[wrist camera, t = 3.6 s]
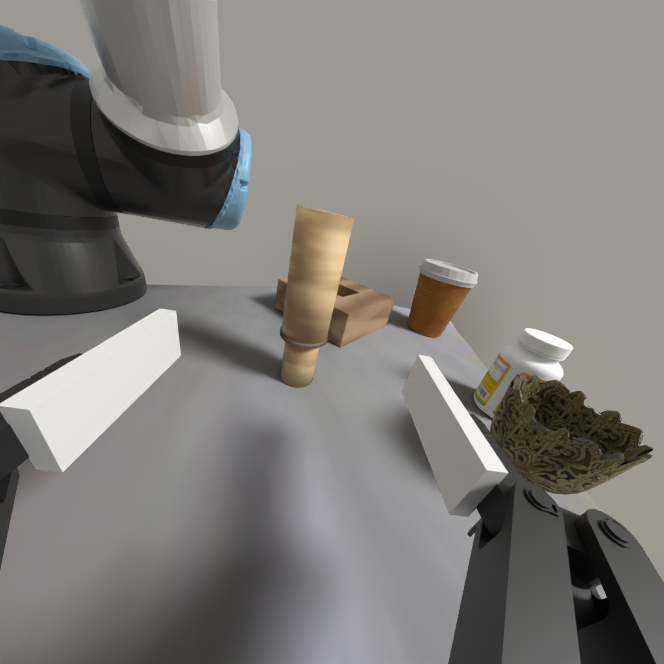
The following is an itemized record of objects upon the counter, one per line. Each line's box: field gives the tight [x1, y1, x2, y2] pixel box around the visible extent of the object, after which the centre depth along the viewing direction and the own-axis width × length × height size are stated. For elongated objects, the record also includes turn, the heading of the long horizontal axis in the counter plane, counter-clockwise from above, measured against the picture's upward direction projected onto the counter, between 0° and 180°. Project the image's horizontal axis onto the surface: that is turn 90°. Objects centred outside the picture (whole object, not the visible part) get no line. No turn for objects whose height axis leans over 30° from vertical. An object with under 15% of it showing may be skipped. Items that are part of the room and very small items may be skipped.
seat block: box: [275, 277, 395, 347], centre depth 40 cm, size 14×14×5 cm
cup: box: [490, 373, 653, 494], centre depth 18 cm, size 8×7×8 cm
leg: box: [280, 205, 354, 387], centre depth 22 cm, size 5×5×16 cm
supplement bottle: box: [473, 328, 573, 418], centre depth 25 cm, size 5×5×10 cm
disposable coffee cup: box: [407, 259, 478, 337], centre depth 42 cm, size 10×10×12 cm
